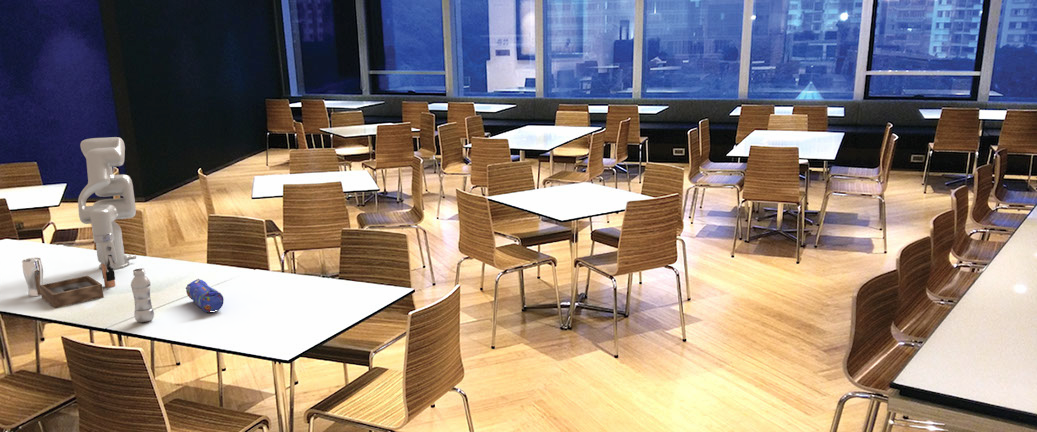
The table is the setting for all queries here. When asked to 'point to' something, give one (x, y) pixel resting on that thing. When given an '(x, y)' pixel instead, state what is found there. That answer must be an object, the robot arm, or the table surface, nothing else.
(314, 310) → the table surface
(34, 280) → the beer glass
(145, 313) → the plastic bottle
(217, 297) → the pencil case
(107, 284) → the peg
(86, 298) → the bore box
